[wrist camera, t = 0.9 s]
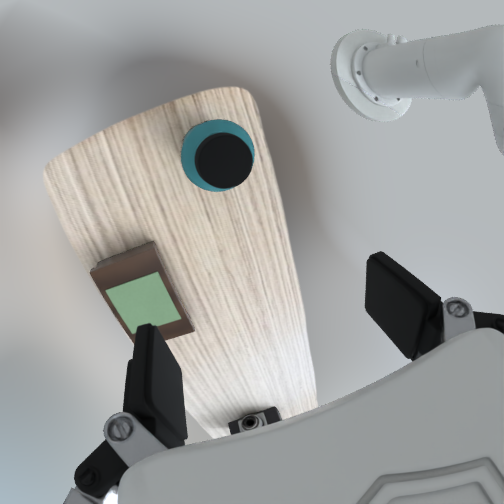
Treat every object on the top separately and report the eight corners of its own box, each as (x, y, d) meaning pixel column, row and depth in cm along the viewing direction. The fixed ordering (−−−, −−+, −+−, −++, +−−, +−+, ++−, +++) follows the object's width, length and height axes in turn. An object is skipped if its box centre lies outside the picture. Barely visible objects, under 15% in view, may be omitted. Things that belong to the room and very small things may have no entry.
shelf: (95, 261, 38) (89, 273, 35) (156, 238, 39) (154, 248, 36) (138, 335, 46) (137, 349, 42) (193, 318, 47) (195, 332, 43)
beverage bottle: (222, 117, 34) (261, 103, 17) (233, 161, 37) (281, 193, 20) (175, 130, 33) (165, 128, 16) (188, 175, 37) (193, 219, 19)
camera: (271, 399, 63) (283, 430, 54) (279, 412, 67) (290, 440, 58) (221, 417, 62) (228, 449, 53) (233, 428, 66) (241, 457, 57)
